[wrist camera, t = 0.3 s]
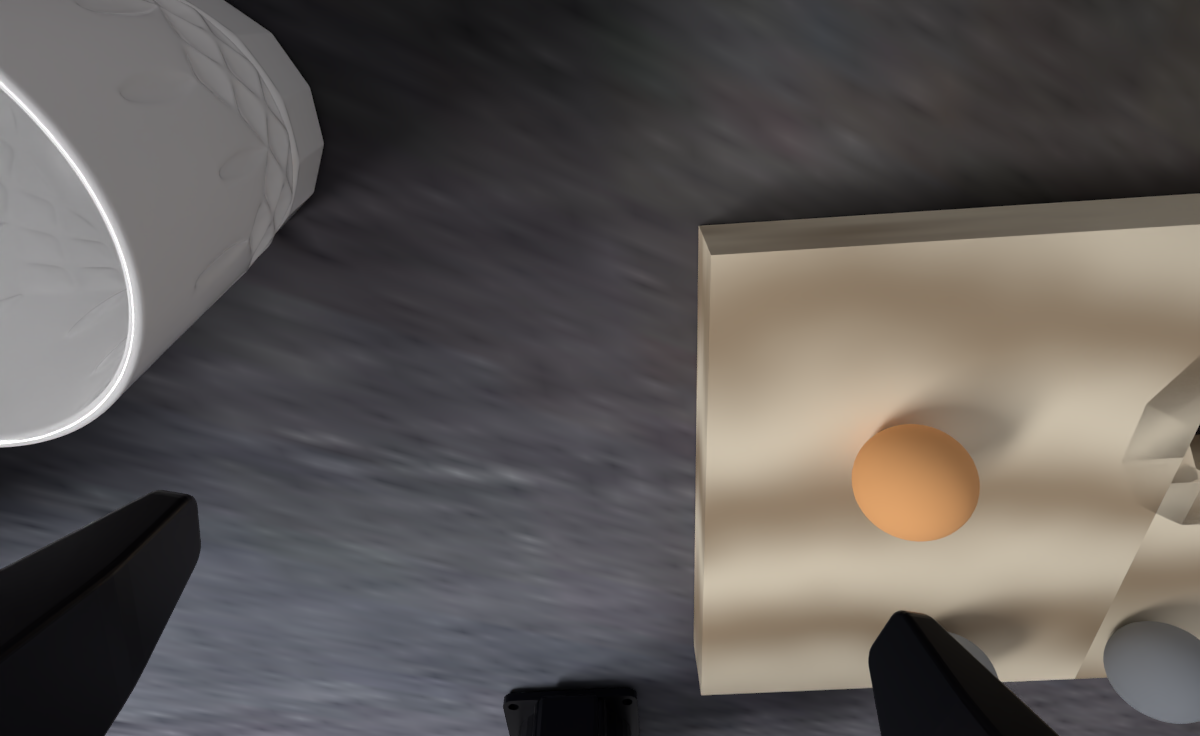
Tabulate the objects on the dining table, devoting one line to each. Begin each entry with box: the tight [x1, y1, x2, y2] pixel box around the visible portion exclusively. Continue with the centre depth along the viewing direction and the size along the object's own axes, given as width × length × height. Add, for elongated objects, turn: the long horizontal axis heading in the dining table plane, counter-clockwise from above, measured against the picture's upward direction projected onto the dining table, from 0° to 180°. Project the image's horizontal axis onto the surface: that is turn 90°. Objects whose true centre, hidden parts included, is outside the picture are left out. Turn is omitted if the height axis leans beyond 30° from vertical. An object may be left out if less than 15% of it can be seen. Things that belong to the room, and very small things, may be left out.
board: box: [694, 193, 1200, 695], centre depth 24 cm, size 20×24×2 cm
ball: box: [852, 424, 980, 542], centre depth 20 cm, size 4×4×4 cm
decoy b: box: [1103, 621, 1200, 724], centre depth 25 cm, size 4×4×4 cm
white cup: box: [0, 0, 324, 448], centre depth 14 cm, size 8×8×10 cm
